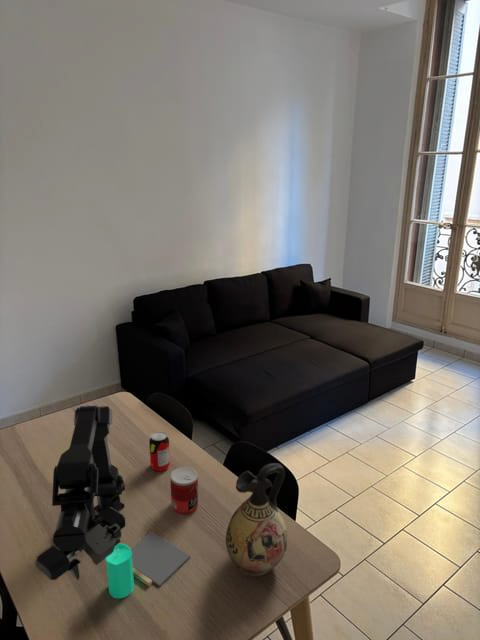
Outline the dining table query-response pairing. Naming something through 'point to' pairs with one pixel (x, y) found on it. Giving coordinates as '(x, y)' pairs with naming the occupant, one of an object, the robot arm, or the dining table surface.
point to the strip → (142, 577)
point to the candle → (120, 571)
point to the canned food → (184, 490)
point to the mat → (157, 558)
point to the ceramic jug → (257, 524)
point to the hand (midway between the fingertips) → (86, 571)
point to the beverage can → (159, 451)
